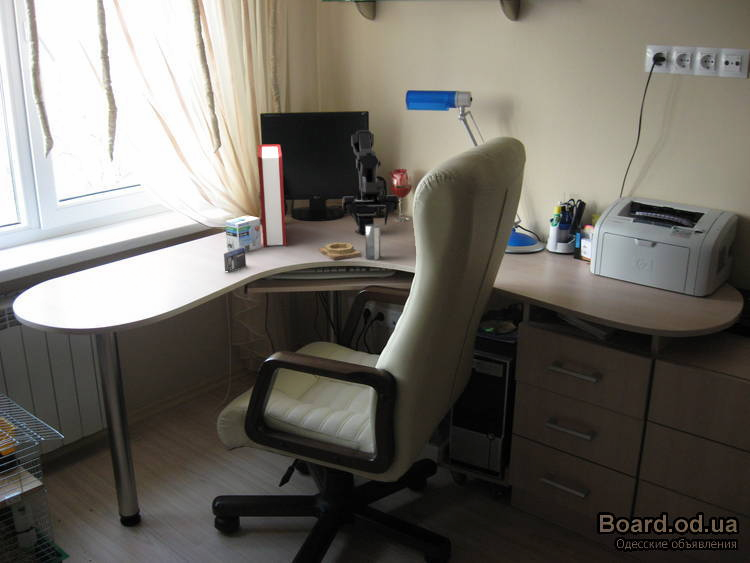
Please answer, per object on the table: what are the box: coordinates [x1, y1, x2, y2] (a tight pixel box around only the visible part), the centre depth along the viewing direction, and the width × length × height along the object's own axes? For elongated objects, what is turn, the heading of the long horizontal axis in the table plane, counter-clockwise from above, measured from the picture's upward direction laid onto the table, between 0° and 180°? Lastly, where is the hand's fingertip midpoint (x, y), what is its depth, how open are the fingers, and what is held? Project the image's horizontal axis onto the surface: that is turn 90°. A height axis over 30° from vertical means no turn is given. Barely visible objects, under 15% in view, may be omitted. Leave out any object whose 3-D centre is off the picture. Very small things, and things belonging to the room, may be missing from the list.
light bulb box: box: [224, 215, 262, 253], centre depth 255 cm, size 11×7×11 cm, turn 143°
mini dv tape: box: [223, 248, 247, 273], centre depth 235 cm, size 8×2×6 cm, turn 149°
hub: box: [318, 242, 362, 261], centre depth 250 cm, size 12×10×3 cm
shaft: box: [364, 223, 382, 261], centre depth 244 cm, size 5×5×11 cm
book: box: [257, 143, 287, 248], centre depth 267 cm, size 27×8×32 cm, turn 8°
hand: (371, 224), depth 246 cm, fingers open, 9 cm apart
